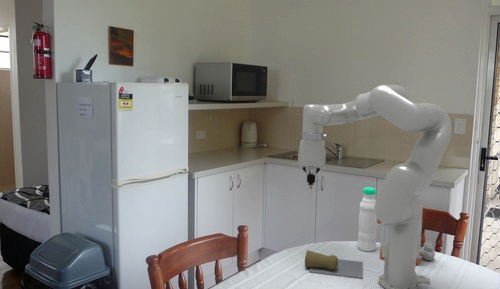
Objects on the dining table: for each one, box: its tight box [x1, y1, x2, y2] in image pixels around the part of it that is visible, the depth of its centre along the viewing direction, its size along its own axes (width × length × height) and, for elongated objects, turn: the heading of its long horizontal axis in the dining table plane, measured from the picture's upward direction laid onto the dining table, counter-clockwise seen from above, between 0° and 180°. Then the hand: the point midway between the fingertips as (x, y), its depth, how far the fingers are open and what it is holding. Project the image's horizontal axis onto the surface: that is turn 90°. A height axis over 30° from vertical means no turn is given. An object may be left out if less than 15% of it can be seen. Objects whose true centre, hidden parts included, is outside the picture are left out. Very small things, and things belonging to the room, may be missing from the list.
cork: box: [304, 249, 339, 270], centre depth 151 cm, size 6×6×11 cm
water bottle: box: [357, 186, 378, 252], centre depth 169 cm, size 7×7×25 cm
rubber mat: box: [308, 258, 364, 280], centre depth 153 cm, size 18×14×1 cm
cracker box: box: [379, 206, 424, 266], centre depth 159 cm, size 14×6×21 cm, turn 64°
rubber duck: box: [420, 240, 436, 261], centre depth 161 cm, size 5×7×8 cm
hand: (310, 184), depth 164 cm, fingers closed
